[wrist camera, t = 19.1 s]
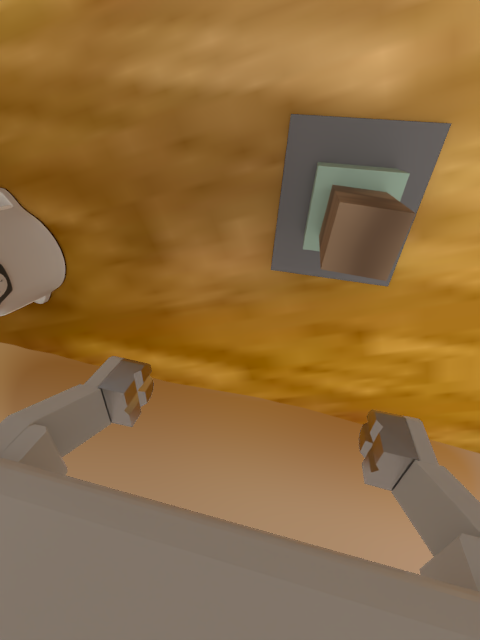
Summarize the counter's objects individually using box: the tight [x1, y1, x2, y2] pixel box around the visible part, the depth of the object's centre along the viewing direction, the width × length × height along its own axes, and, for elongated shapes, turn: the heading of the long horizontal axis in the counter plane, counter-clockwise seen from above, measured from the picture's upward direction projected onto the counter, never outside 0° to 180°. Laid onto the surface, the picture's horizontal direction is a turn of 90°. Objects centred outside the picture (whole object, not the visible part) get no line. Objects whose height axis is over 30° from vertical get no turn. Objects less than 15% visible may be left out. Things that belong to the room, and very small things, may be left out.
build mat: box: [271, 114, 451, 286], centre depth 32 cm, size 15×17×1 cm
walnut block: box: [319, 184, 416, 281], centre depth 24 cm, size 5×5×9 cm
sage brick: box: [303, 162, 410, 251], centre depth 30 cm, size 8×8×5 cm
